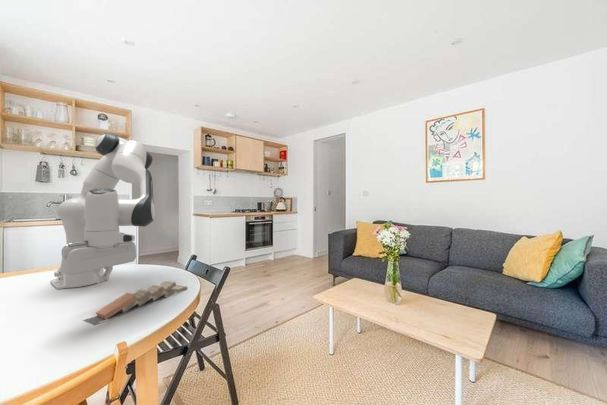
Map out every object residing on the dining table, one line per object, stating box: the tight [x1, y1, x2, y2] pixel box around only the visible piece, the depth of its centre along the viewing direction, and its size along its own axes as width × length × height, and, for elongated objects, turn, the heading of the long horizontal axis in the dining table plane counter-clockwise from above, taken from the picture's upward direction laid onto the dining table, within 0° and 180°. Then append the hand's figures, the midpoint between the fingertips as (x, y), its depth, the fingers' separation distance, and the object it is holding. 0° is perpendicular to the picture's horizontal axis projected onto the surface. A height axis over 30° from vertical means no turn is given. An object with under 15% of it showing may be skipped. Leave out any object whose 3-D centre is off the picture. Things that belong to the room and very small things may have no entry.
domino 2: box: [135, 283, 164, 307], centre depth 95 cm, size 2×5×10 cm
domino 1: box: [120, 288, 151, 313], centre depth 90 cm, size 2×5×10 cm
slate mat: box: [82, 296, 169, 326], centre depth 89 cm, size 7×24×1 cm, turn 154°
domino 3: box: [150, 279, 177, 301], centre depth 100 cm, size 2×5×10 cm
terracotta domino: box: [95, 292, 137, 319], centre depth 86 cm, size 2×5×10 cm
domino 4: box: [162, 284, 188, 297], centre depth 104 cm, size 2×5×10 cm
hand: (102, 281), depth 82 cm, fingers closed
